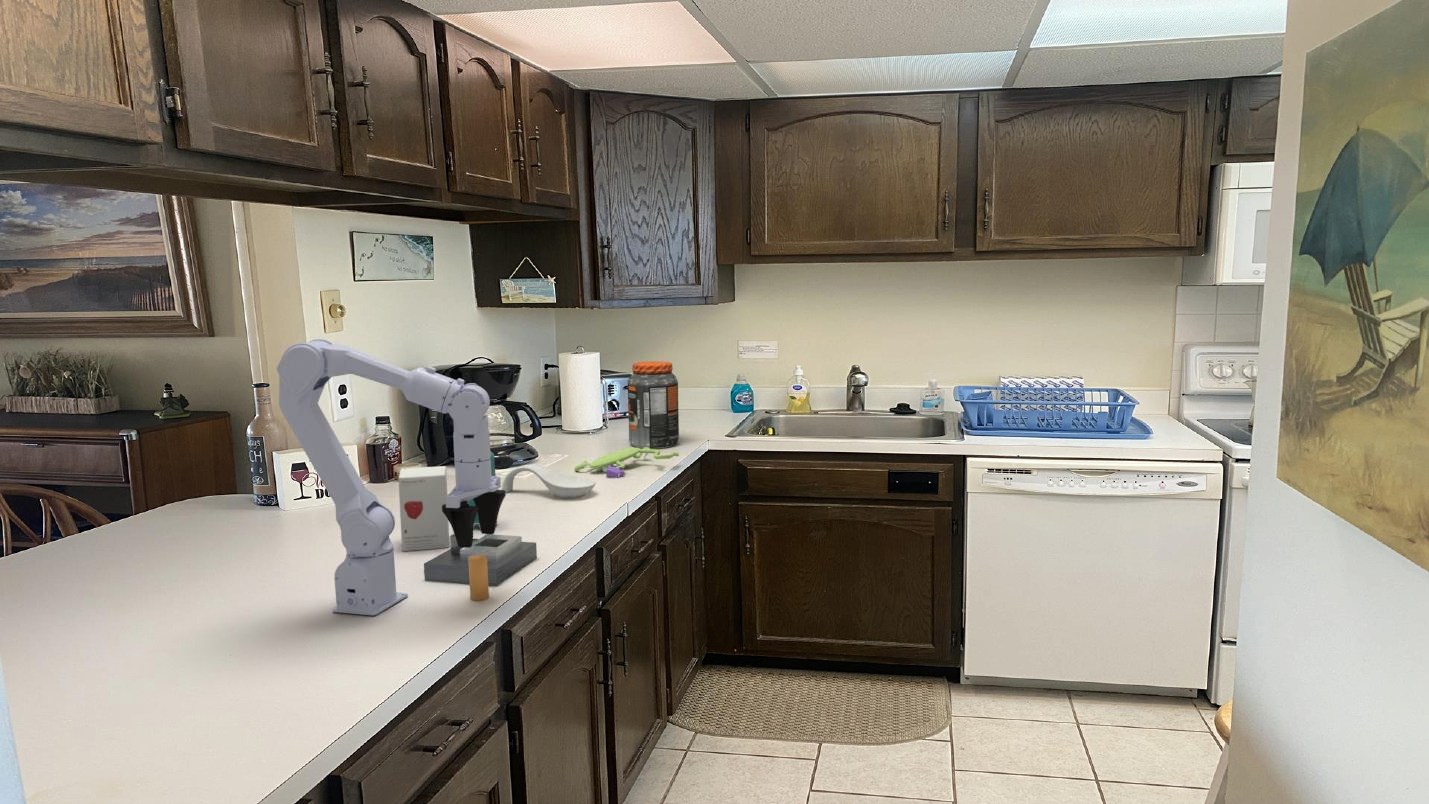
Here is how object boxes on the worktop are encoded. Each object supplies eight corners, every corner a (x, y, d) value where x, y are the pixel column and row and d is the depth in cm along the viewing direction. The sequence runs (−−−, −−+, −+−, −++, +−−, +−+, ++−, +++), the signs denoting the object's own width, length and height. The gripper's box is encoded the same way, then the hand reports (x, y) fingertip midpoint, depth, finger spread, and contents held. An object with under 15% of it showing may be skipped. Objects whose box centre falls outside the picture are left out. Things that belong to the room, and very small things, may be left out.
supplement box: (401, 552, 178) (396, 477, 176) (403, 539, 186) (399, 467, 184) (449, 548, 180) (445, 473, 178) (450, 535, 189) (446, 464, 187)
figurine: (685, 470, 251) (685, 450, 250) (598, 483, 237) (597, 462, 236) (653, 459, 267) (652, 440, 266) (568, 470, 252) (568, 451, 251)
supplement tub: (631, 440, 295) (629, 360, 291) (680, 440, 295) (678, 360, 291) (626, 450, 279) (624, 365, 275) (677, 449, 279) (676, 365, 275)
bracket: (496, 563, 161) (495, 552, 160) (460, 560, 162) (460, 549, 162) (521, 546, 170) (521, 536, 170) (487, 544, 172) (487, 534, 172)
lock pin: (483, 601, 150) (481, 560, 149) (467, 600, 151) (464, 559, 150) (492, 595, 153) (490, 555, 152) (476, 594, 154) (473, 553, 153)
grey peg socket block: (496, 585, 158) (495, 552, 157) (424, 580, 161) (422, 547, 160) (536, 557, 173) (535, 527, 172) (470, 553, 176) (468, 523, 176)
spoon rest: (602, 491, 227) (602, 463, 226) (585, 503, 215) (584, 473, 214) (515, 487, 232) (514, 460, 231) (493, 498, 221) (492, 469, 220)
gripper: (472, 469, 141) (477, 554, 143) (515, 451, 155) (518, 529, 157) (431, 467, 142) (436, 551, 144) (477, 450, 156) (481, 527, 158)
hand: (476, 540), depth 151 cm, fingers open, 7 cm apart
